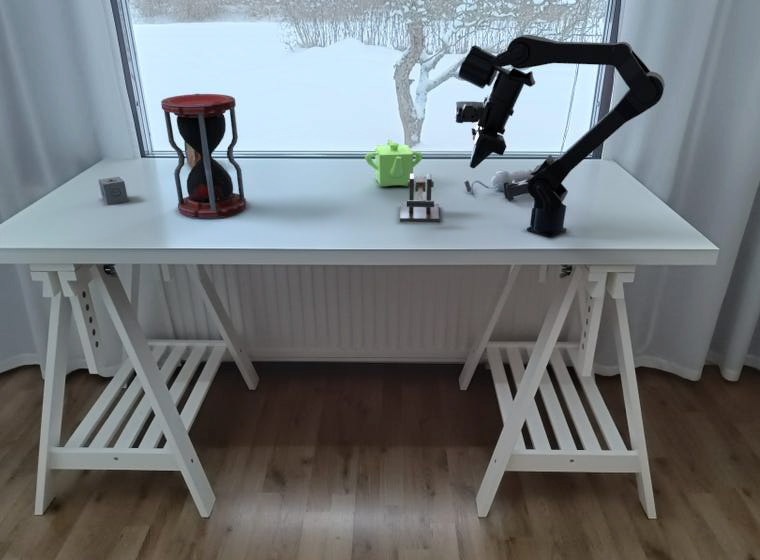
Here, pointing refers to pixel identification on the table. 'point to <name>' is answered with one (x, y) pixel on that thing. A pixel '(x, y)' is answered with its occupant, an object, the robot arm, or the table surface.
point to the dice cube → (113, 190)
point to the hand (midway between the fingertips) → (471, 167)
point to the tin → (191, 155)
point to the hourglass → (205, 154)
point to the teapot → (393, 163)
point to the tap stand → (419, 212)
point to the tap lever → (420, 195)
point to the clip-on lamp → (508, 183)
